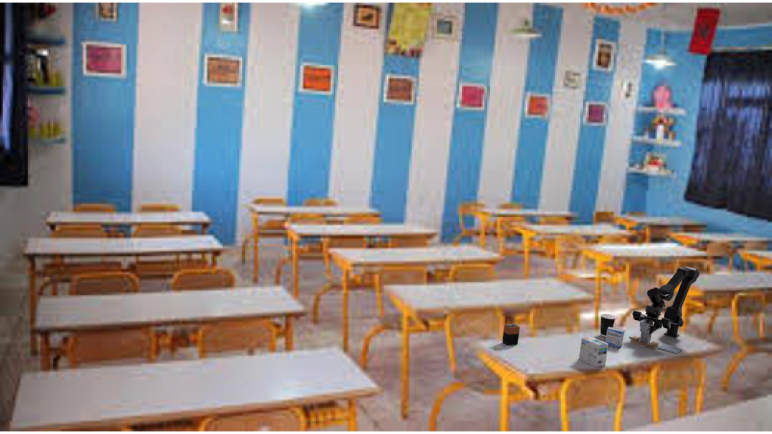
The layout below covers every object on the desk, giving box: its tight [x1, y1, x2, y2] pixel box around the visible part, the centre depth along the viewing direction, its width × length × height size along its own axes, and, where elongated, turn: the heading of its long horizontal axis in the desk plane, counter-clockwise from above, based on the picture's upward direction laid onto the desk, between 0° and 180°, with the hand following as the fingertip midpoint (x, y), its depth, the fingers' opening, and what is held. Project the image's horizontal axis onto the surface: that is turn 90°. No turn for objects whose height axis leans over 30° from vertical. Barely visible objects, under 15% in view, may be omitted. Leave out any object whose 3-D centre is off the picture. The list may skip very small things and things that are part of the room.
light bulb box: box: [578, 336, 609, 368], centre depth 306 cm, size 11×7×11 cm, turn 33°
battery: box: [501, 323, 521, 346], centre depth 322 cm, size 4×7×10 cm, turn 116°
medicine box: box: [604, 327, 626, 349], centre depth 333 cm, size 8×4×9 cm, turn 62°
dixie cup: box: [600, 313, 617, 338], centre depth 347 cm, size 8×8×11 cm
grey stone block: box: [639, 319, 654, 345], centre depth 336 cm, size 8×4×13 cm, turn 139°
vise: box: [629, 335, 659, 350], centre depth 339 cm, size 6×14×2 cm, turn 49°
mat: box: [657, 343, 683, 355], centre depth 335 cm, size 9×9×1 cm
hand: (645, 332), depth 337 cm, fingers closed on grey stone block, 4 cm apart
